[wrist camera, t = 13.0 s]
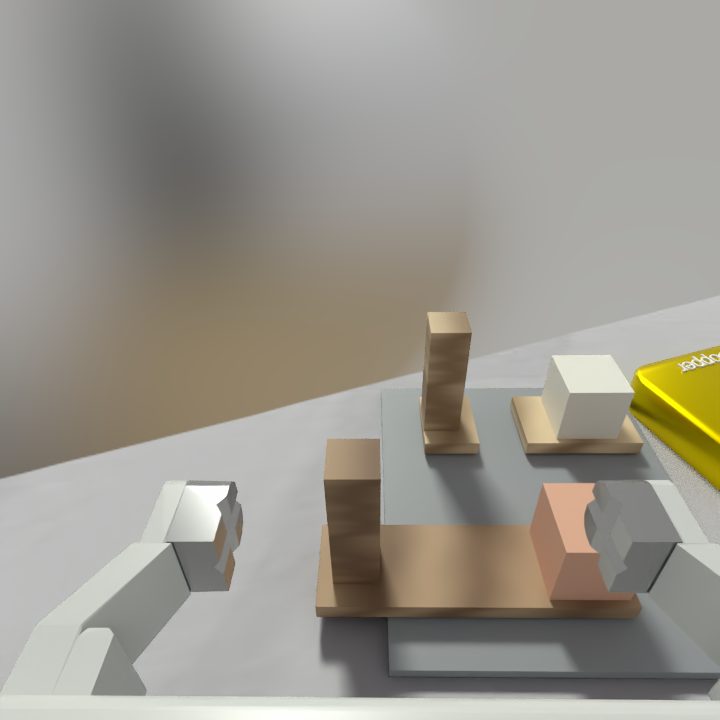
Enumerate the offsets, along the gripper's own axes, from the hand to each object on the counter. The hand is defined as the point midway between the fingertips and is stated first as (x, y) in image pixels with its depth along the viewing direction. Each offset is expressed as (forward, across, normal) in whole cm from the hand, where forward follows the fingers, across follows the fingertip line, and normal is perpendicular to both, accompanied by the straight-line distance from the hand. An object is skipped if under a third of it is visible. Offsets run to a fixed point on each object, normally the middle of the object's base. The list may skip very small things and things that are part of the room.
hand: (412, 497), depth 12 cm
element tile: (+27, -32, +25) cm, 49 cm away
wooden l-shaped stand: (+12, -5, +23) cm, 26 cm away
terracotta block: (+12, -12, +22) cm, 28 cm away
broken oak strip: (+26, -13, +23) cm, 37 cm away
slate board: (+19, -12, +24) cm, 33 cm away
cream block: (+26, -17, +22) cm, 38 cm away
